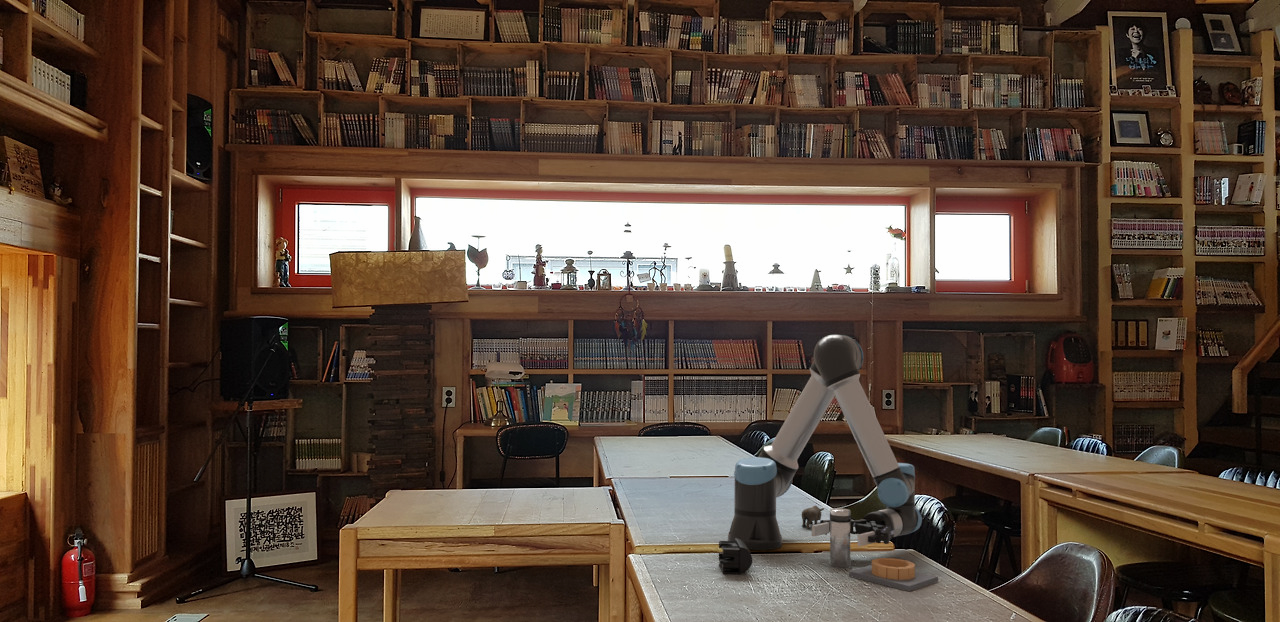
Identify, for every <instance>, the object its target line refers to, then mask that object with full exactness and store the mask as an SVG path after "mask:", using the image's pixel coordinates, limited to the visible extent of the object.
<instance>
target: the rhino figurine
mask: <svg viewBox="0 0 1280 622" xmlns="http://www.w3.org/2000/svg"><path fill="white" fill-rule="evenodd" d="M824 509H825V508H824V507H822V508H820V507H818V506H817V505H814V506H812V507H808V508H805V509H803V510H802V512H801V520H802V525H801V527H802V526H806V527H805V529H806V528H811V526H810V524H812V523H813V525H817V524H818V521H820V520H822V511H824Z"/></svg>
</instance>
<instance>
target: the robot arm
mask: <svg viewBox="0 0 1280 622" xmlns="http://www.w3.org/2000/svg"><path fill="white" fill-rule="evenodd" d="M813 349H814V350H813V361H812V364H811V365H810V367H809V372H810V375H811V376H810V377H809V379H808V380H807V383H806V384H805V387H803V390H802V391H801V393H800V395H799V397H798V398H797V399H796V401H795V403H794V405H793V406H792V409H791V410H790V411H789V413H788V415H787V417H786V418H785V420H784V422H783V424H782V425H781V427H780V429H779V431H778V433H777V434H776V436H775V437H774V439H773V441H772V443H771V444H769V445H765V446H763V448H762V450H761V452H760V453H759V455H758V456H756V457H752V456H751V457H748V458H742V459H739V460H738V461H736V463H735V467H734V471H733V472H734V473H733V476H734V506H733V507H734V515H733V519H732V521H731V524H730V527H729V532H728V533H727V541H735V538H738V539H740V540H742V541H743V542H744V543H745V545H746V546H747V548H748V550H752V551H753V550H754V551H757V550H759V551H766V550H768V551H769V550H774V549H779V548H781V547H782V546H783V537H782V534H781V531H780V527H779V523H778V520H777V498H779V497H781V496H783V495H784V494H786V493H787V492H788V491H789V489H790V488H791V485H792V484H793V478H794V477H795V474H797V473H796V472H797V471H798V469H799V463H798V459H799V458H800V455H801V454H802V452H803V451H804V448H805V447H806V446H807V443H808V441H809V440H810V439H811V437H812V435H813V433H814V432H815V430H816V429H817V427H818V425H819V423H820V421H821V420H822V418H823V416H824V415H825V413H826V411H827V410H828V408H829V406H830V405H831V403H832V401H833V399H834V398H835V399H836V402H837V403H838V406H839V407H840V410H841V412H842V414H843V416H844V419H845V420H846V422H847V425H848V426H849V429H850V431H851V434H852V435H853V438H854V440H855V442H856V444H857V446H858V449H859V451H860V452H861V455H862V458H863V459H864V462H865V464H866V466H867V468H868V470H869V472H870V474H871V476H872V478H873V482H874V483H875V486H876V488H877V497H878V499H879V500H880V502H881V503H882V504H883V505H885V506H886V508H885V509H879V510H877V511H876V510H875V511H872V512H868V513H866V514H865V515H864V517H863V518H861V519H853V518H851V522H850V535H857V547H863V546H867V545H872V544H875V543H877V544H881V542H883V544H885V545H888V544H890V540H891V539H892V538H895V537H899V536H905V535H910V534H912V533H913V532H916V531H917V530H918V529H920V527H921V526H922V524H923V517H922V515H921V511H919V509H918V508H917V507H916V502H915V501H916V500H915V497H916V496H915V495H916V494H915V492H916V490H915V489H916V475H915V471H916V470H915V466H914V465H913V464H912V463H911V464H910V463H906V462H898V461H897V459H896V457H895V453H894V452H893V450H892V448H891V446H890V443H889V442H888V440H887V437H886V436H885V433H884V431H883V429H882V427H881V425H880V422H879V421H878V418H877V416H876V414H875V412H874V410H873V407H872V405H871V403H870V401H869V399H868V397H867V395H866V392H865V390H864V388H863V386H862V385H861V382H860V377H861V373H860V371H859V370H860V369H861V367H862V366H863V363H864V351H863V349H862V347H861V345H860V343H859V342H858V341H857V340H855V338H853V337H850V336H848V335H844V334H829V335H826V336H824V337H822V338H821V339H819V341H817V343H816V345H815V347H814V348H813ZM854 529H855V530H854ZM829 534H830V519H820V520H819V523H817V525H814V524H813V525H811V537H818V536H823V535H826V536H827V535H829Z"/></svg>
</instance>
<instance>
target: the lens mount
mask: <svg viewBox="0 0 1280 622" xmlns="http://www.w3.org/2000/svg"><path fill="white" fill-rule="evenodd" d="M915 566H916V564H915V563H913V562H911V561H909V560H906V559H905V560H904V559H901V558H892V557H881V558H880V557H878V558H875V559H872V560H871V564H869V565H866V566H863V567H859V568H855V569H853V570H851V569H850V570H849V571H848V577H850V578H855V579H859V580H863V581H866V582H869V583H874V584H879V585H882V586H886V587H890V588H894V589H897V590H902V591H905V590H906V592H912V591H915V590H917V589H920V588H923V587H927V586H930V585H933V584H935V583H938V582H939V576H937V575H933V574H929V573H924V572H920V571H916V567H915Z"/></svg>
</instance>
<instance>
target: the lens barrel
mask: <svg viewBox="0 0 1280 622" xmlns="http://www.w3.org/2000/svg"><path fill="white" fill-rule="evenodd" d="M829 511H830V512H829V520H830V532H829V534H830V535H829V566H830V567H831V568H834V569H850V568H851V533H850V522H851V519H852V515H851V510H850V509H849V508H838V507H837V508H836V507H835V508H833V507H832V508H830V510H829Z"/></svg>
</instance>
